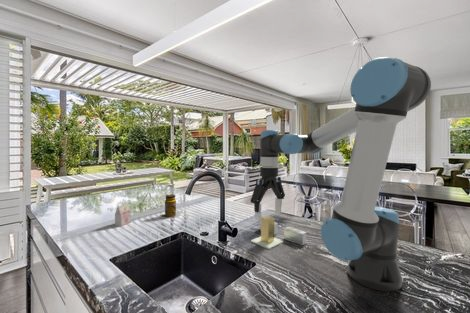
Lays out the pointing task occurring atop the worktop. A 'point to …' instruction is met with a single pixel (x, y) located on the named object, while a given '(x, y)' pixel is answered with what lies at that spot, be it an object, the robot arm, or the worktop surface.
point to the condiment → (170, 207)
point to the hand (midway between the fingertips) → (268, 216)
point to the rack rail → (291, 234)
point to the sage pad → (267, 245)
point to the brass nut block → (267, 229)
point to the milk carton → (122, 215)
